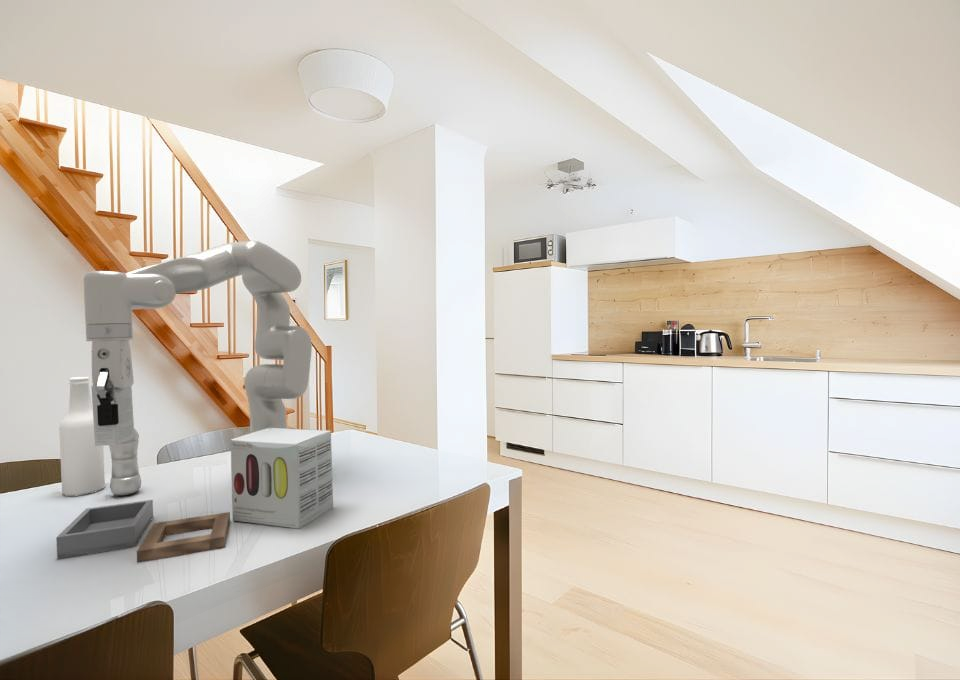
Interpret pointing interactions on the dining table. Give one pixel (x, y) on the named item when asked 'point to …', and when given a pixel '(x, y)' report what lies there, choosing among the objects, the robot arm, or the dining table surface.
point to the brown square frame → (158, 549)
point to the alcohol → (80, 444)
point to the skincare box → (125, 415)
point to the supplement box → (281, 476)
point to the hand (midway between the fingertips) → (113, 421)
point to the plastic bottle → (125, 467)
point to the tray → (105, 529)
